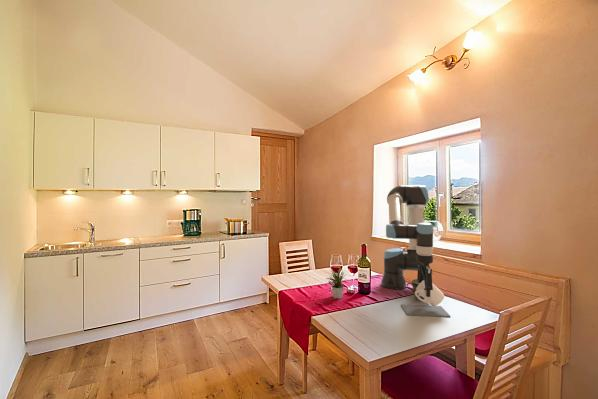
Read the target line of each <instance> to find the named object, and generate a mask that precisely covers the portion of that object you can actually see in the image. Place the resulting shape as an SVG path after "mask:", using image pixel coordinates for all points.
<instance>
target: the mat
mask: <svg viewBox="0 0 598 399" xmlns="http://www.w3.org/2000/svg"><path fill="white" fill-rule="evenodd" d="M400 306H401V308H402V309H403V311H404V313H405V315H406V316H412V317H413V316H419V317H437V318H438V317H440V318H441V317H443V318H451V314H449V313H448V312H447V311H446V309H444V308H443V306H441V305H436V306H432V305H430V304H427V305H425V304H424V305H423V304H422V305H421V304H400Z"/></svg>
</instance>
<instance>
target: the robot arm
mask: <svg viewBox="0 0 598 399" xmlns="http://www.w3.org/2000/svg"><path fill="white" fill-rule="evenodd" d="M386 202H387V203H386V204H387V205H388V222H389V223H388V224H386V225H385V236H386V238H388V239H395V240H396V239H397V240H398V239H403V240H405V239H406V240H408V247H407V248H406V251H404V249H403V248H399V247H397V248H396V247H395V248H389V249H386V250H384V253H383V259H384V260H383V275H382V278H381V280H380V281H381V283H380V284H381V286H382V287H384V288H385V289H386V288H387V289H391V290H392V289H393V290H404V289H406V288H407V281H406V279H405V276H404V271H414V272H417V276H416V277H417V278H416V279H417V280H418V283H419V284H420V283H421V282H422V281H423V280H424V283H425V289H424V302H423V303H424V304H429V303H431V290H433V286H432V283H433V269H432V268H431V266H430V265H431V264H433V263H434V255H433V254H434V249H435V248H434V225H433V223H429V222H424V221H425V220H424V219H425V218H424V209H425V208H426V207H427V204H428V203H429V191H428V188H427V186H426V185H424V184H423V185H421V184H410V185H407V184H405V185H404V184H401V185H397V186H395V187H393V188H391V189H390V191H389V192H388V193H387V196H386ZM403 204H405V205H406V207H407V209H408V224H404V219H403V218H404V216H403ZM419 296H421V295H420V294H419Z"/></svg>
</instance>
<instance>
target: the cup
mask: <svg viewBox="0 0 598 399" xmlns="http://www.w3.org/2000/svg"><path fill="white" fill-rule="evenodd" d="M432 286H433V290H431V303H428V305H429V306H439V305H440V303H442V302H443V300H444V299H445V294H444V293H443V292H442V291H441V290H440V288H438V287H437V286H436V285H435V284H434V283H433V282H432ZM424 289H425V283H424V280H423V281H422V282H421V283H420V284H419V285H418V286H417V288H416V291H415V295H416V297H417V298H418V299H419V300H420V301H422V302H421V303H424V300H423V299H421V298H420V297H419V296H418V295H417V293H419V294H420V295H421V296H422V297H423V298H424ZM420 301H419V302H420Z"/></svg>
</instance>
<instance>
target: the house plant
mask: <svg viewBox="0 0 598 399" xmlns="http://www.w3.org/2000/svg"><path fill="white" fill-rule="evenodd" d="M328 270H329V271H330V272H331V273H329V272H328V275H329V276H328V277H326V278H325V279H326V280H328V281H327V283H328V284H332V285H331V288H330V289H331V293H332V297H334V298H333V299H336V298H338V299H342V298H343V294H344V289H345V288H344V287H345V286H344V284H343V282H344V280H343V278H344V275H345V274H344V273H345V271H344V270H342V268H341V267H340V268H339V269H338V270H337V273H336V272H335V271H334V270H332V269H330V268H328ZM324 273H326V274H327V272H324ZM345 281H348V279H345Z"/></svg>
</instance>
